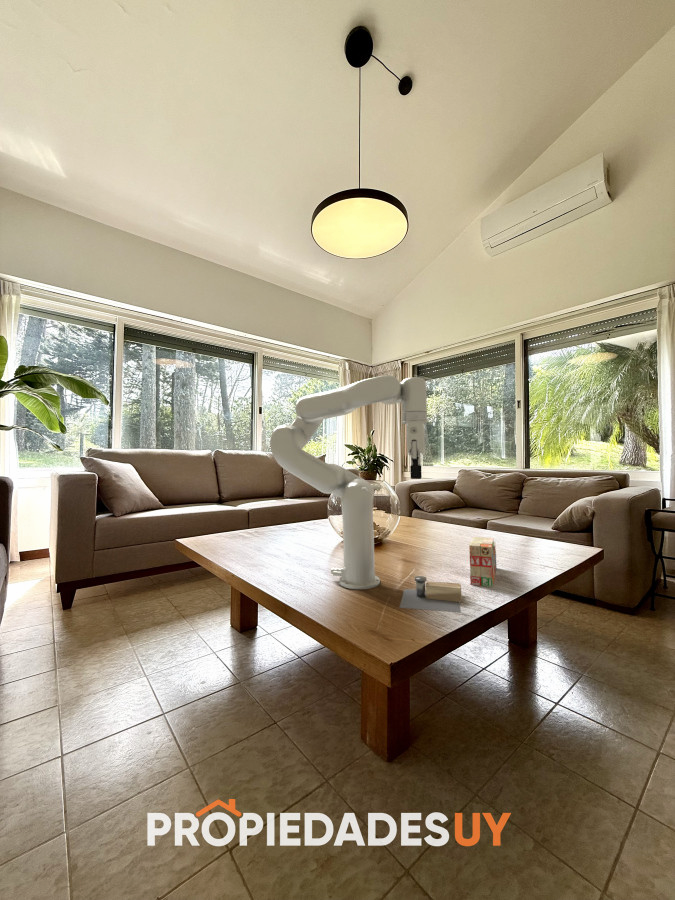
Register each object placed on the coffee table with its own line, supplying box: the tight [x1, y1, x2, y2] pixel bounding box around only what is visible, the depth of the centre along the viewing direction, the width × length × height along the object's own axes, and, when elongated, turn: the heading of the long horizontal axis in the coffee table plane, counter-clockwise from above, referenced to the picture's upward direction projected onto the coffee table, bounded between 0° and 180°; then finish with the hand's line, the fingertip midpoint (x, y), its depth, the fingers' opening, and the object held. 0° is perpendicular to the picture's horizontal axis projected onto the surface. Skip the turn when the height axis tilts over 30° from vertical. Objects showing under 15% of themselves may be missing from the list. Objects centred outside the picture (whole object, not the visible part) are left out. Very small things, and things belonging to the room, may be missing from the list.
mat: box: [399, 588, 462, 613], centre depth 101 cm, size 15×14×1 cm
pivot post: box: [414, 575, 428, 598], centre depth 104 cm, size 3×3×5 cm
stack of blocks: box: [469, 536, 497, 588], centre depth 120 cm, size 21×6×12 cm, turn 154°
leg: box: [425, 581, 463, 603], centre depth 102 cm, size 3×9×4 cm, turn 69°
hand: (416, 478), depth 114 cm, fingers closed
